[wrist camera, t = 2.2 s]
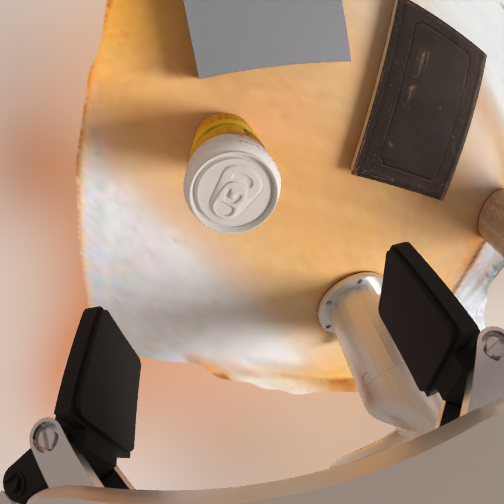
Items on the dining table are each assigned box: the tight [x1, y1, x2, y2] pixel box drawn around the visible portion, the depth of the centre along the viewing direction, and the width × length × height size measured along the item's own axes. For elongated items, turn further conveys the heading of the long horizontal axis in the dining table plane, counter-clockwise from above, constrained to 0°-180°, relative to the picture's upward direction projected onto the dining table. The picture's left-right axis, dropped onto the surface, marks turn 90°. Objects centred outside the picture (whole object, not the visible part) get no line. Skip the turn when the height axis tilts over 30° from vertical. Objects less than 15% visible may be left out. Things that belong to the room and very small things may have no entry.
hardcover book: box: [350, 0, 487, 200], centre depth 29 cm, size 16×23×2 cm
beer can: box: [184, 113, 281, 234], centre depth 24 cm, size 6×6×15 cm
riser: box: [183, 0, 351, 79], centre depth 21 cm, size 14×14×4 cm
